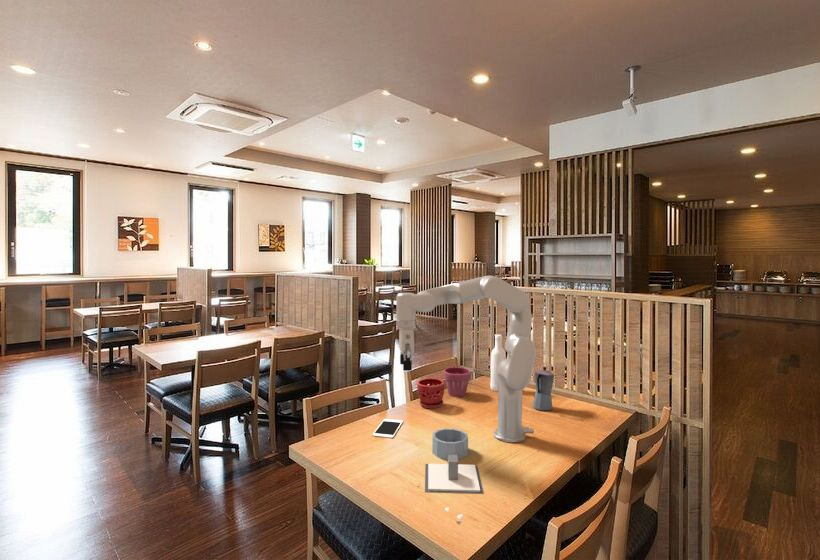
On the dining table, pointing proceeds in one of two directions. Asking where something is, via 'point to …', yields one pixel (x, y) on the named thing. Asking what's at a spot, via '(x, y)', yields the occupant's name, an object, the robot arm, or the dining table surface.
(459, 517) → the acanthus leaf ornament
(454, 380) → the plant pot
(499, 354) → the bottle
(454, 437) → the bowl
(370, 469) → the dining table surface
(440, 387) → the plant pot
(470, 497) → the dining table surface
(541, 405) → the moka pot
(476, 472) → the mat
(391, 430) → the cell phone
